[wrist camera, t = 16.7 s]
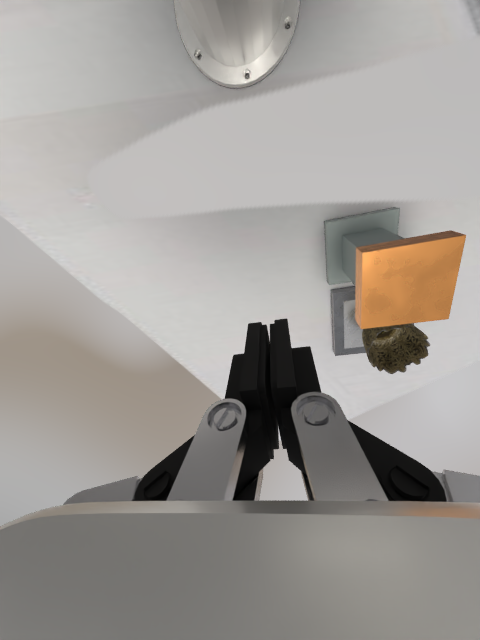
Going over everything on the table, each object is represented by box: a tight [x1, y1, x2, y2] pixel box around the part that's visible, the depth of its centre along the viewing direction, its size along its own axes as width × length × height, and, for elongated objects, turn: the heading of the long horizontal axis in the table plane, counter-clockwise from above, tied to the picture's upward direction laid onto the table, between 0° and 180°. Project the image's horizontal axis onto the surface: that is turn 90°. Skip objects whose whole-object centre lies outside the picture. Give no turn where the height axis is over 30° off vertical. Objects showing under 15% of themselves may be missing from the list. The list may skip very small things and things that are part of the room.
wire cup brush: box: [362, 323, 430, 374], centre depth 36 cm, size 8×7×8 cm
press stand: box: [324, 207, 405, 287], centre depth 31 cm, size 9×9×12 cm
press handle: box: [355, 231, 466, 329], centre depth 29 cm, size 8×8×12 cm
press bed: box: [331, 286, 414, 356], centre depth 41 cm, size 12×12×2 cm
